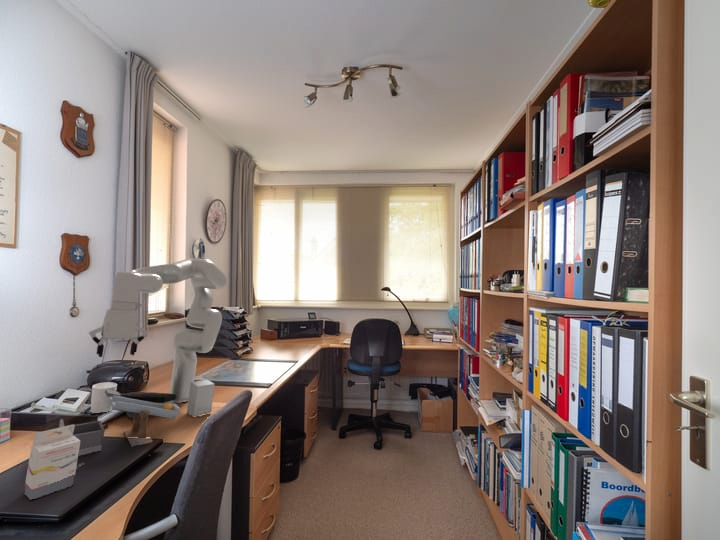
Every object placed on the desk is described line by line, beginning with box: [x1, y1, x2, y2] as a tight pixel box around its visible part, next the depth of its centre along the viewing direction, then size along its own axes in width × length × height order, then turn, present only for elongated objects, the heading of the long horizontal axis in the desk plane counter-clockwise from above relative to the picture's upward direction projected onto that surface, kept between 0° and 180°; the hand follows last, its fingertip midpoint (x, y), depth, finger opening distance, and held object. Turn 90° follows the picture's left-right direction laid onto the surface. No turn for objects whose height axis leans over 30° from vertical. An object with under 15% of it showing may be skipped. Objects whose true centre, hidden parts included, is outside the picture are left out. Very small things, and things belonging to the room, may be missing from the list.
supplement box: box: [186, 379, 216, 418], centre depth 139 cm, size 7×7×13 cm
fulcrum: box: [123, 410, 151, 438], centre depth 114 cm, size 6×12×10 cm, turn 46°
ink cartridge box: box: [24, 424, 80, 490], centre depth 84 cm, size 9×5×15 cm, turn 150°
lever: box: [105, 390, 181, 419], centre depth 118 cm, size 21×15×4 cm
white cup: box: [90, 381, 118, 414], centre depth 131 cm, size 8×8×10 cm
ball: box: [163, 403, 173, 410], centre depth 120 cm, size 3×3×3 cm
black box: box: [120, 391, 176, 419], centre depth 134 cm, size 18×9×20 cm
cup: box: [57, 418, 106, 450], centre depth 103 cm, size 10×8×9 cm
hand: (116, 355), depth 117 cm, fingers open, 8 cm apart
